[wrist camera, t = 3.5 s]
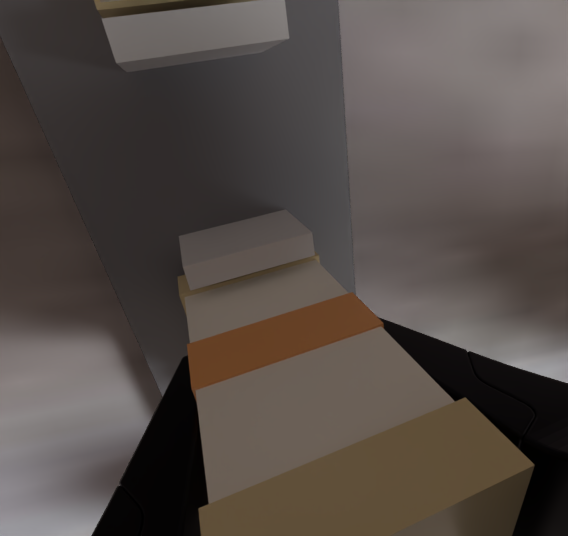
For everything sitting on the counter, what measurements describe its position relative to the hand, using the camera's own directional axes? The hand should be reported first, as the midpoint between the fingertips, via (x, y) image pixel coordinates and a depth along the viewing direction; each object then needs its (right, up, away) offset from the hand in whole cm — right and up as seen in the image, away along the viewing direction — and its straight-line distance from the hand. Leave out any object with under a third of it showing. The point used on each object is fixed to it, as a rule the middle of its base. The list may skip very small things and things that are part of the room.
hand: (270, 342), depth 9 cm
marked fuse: (0, +1, +1) cm, 2 cm away
